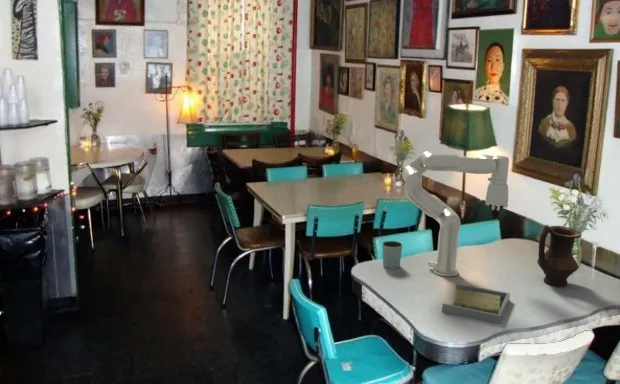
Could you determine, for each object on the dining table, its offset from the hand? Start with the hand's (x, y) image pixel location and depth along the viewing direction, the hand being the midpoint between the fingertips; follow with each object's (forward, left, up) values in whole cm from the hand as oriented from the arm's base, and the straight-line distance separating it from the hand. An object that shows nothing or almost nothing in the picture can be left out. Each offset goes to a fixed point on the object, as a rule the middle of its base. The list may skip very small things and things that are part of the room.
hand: (495, 217), depth 304 cm
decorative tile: (+2, -42, -30) cm, 52 cm away
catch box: (+2, -44, -29) cm, 53 cm away
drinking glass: (-47, -15, -29) cm, 57 cm away
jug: (+30, +2, -29) cm, 42 cm away
